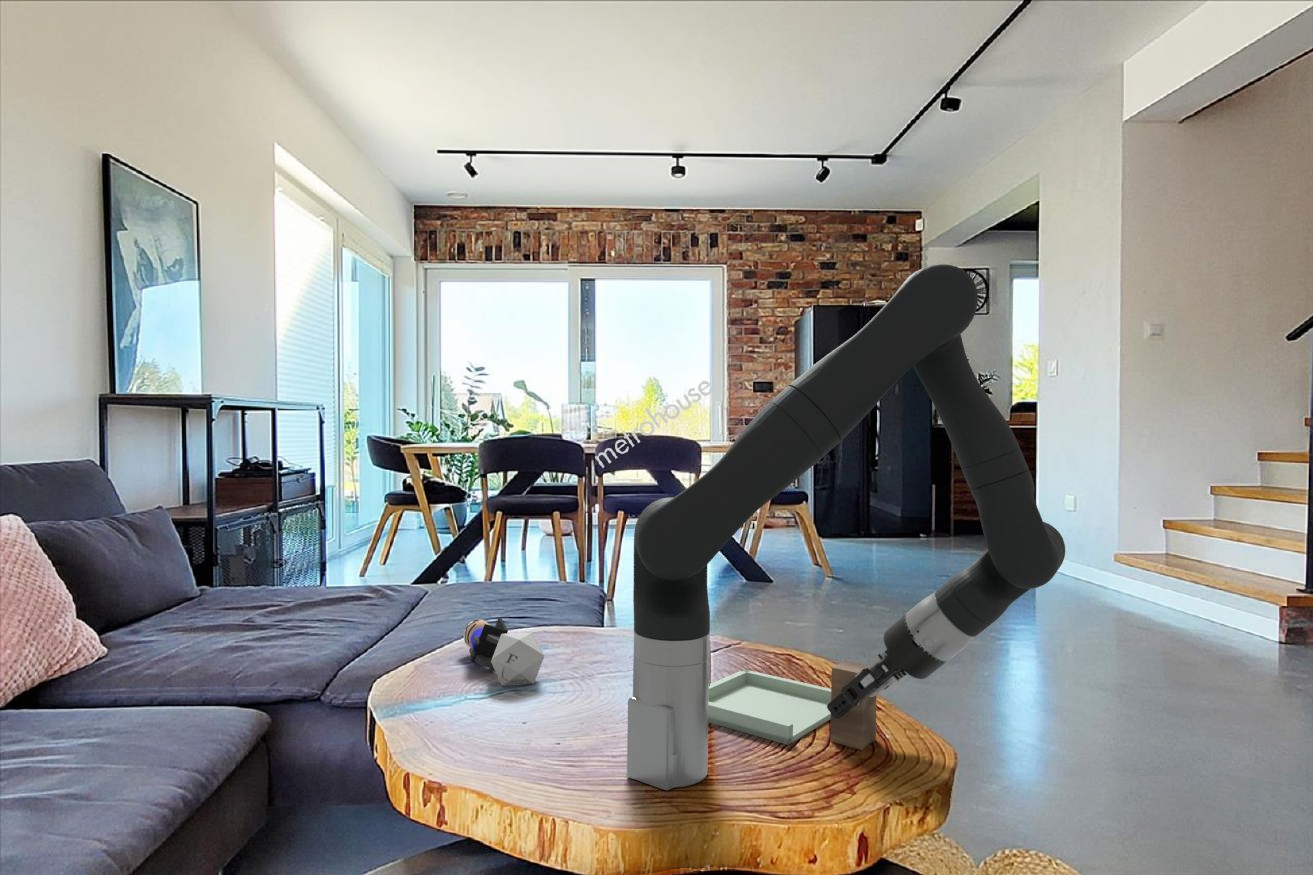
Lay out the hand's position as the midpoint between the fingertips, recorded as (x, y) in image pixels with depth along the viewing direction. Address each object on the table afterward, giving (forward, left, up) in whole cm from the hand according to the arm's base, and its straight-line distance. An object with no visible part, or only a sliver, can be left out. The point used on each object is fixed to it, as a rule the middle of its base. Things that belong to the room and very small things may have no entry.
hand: (840, 707), depth 113 cm
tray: (+2, +13, -4) cm, 14 cm away
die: (-12, +51, -4) cm, 53 cm away
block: (0, -2, -4) cm, 5 cm away
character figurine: (-8, +64, -4) cm, 64 cm away
